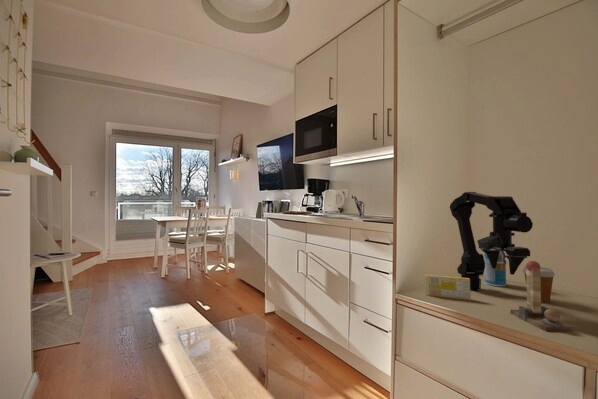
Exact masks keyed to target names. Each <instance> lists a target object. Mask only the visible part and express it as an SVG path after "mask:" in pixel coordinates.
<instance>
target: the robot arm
mask: <svg viewBox="0 0 598 399" xmlns="http://www.w3.org/2000/svg"><path fill="white" fill-rule="evenodd" d="M476 204H478V205H482V206H486V208H487V210H490V211H492V212H491V213H490V214H489V215H488V217H489V218H492V231H490V232H489V236H485V237H483V238H480V239H477V241H476V242H477V245H478V248H479V249H480V251H482V252H483V253H484V254H485V253H486V254H487V256H488V258H489V261H490V264H491V266H492V268H493V269H495V268H496V266H497V262H498V257H499V253H500V250H501V251H504V253H505V256H506V258H507V260H508V266H509V274H510V275H512V276H514V275H515V273H516V271H517V270H518V268H519V267H520V265H521V264H522V263H523V262H524V260H525V259H527V258H528V257H531V250H530V249H529V248H528V247H522V246H516V244H515V243H513V242H512V240H513V239H512V237H515V232H516V233H517V232H518V233H524V234H525V233H528V232H530V231H531V230H532V229H533V226H534V223H533V221H532V219H531V217H529V216H527V212H522V211H521V209H520V208H519V206H518V205H517V203H516V201H515V199H514V197H512V196H508V195H503V196H502V195H501V196H500V195H499V196H498V195H497V196H494V195H489V194H483V193H480V192H479V193H478V192H476V191H465V192H463V193H462V194H461V195H460V196H458V197H456V198H454V199H453V201H452V202H451V203H450V205H449V210H450V213H451V216H452V217H453V218H454V219H455V220H456V222H457V225H458V231H459V237H460V240H461V245H462V250H463V253H462V255H461V258H460V261H461V262H460V264H459V265H458V267H457V268H456V270H457V273H458V274H459V275H461V277H460V278H470V291H473V292H474V291H475V292H478V291H479V290H481V288H482V279H481V278H480V276H484V274H485V261H484V259H485V255H484V254H482V253H479V251H477V246H476V242H475V237H474V234H473V229H472V225H471V216H472V214H473V208H475V207H476ZM499 247H500V248H499ZM496 249H497V250H496Z"/></svg>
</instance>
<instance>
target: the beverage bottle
mask: <svg viewBox="0 0 598 399" xmlns="http://www.w3.org/2000/svg"><path fill="white" fill-rule="evenodd" d="M499 248H500V247H499ZM496 250H497V249H496ZM505 255H506V252H505V251H501V250H500V253H499V257H498V262H497V266H496V268H495V269H493V268H492V266H491V264H490V261H489V258H488V256H487V254H486V253H485V252H484V254H483V256H484V261H485V269H484V283H485V284H487V285H489V286H493V287H506V286H507V260H506V258H507V257H506V256H505Z"/></svg>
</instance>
